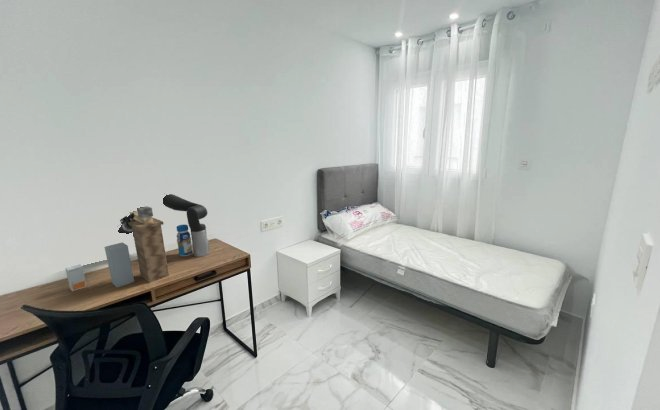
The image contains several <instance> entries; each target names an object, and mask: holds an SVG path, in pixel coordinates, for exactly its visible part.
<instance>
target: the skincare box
mask: <svg viewBox="0 0 660 410" xmlns="http://www.w3.org/2000/svg"><path fill="white" fill-rule="evenodd" d="M64 269H65V273H66V276H67V280H68V286H69V290H70V291H71V292H76V291H78V290H81V289H85V288H87V282H86V277H85V273H84V272H85V271H84V269H83V266H82V265H81V264H76V265H73V266H70V267H65V268H64Z"/></svg>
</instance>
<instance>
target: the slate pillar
mask: <svg viewBox="0 0 660 410" xmlns="http://www.w3.org/2000/svg"><path fill="white" fill-rule="evenodd" d="M104 251H105V256H106V261H107V264H108V270H109V275H110V279H111V280H110V281H111V284H112V285H114V287H116V288H120V287H121V288H122V287H123V286H125V285H129V284H131V283H135V278H134V277H135V276H134V271H133V267H132V261H131V257H130V251H129V245H128V244H126V243H124V242H118V243H114V244H110V245H107V246H104Z"/></svg>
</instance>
